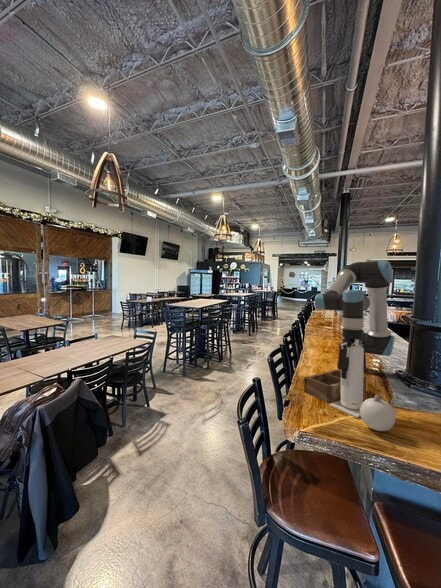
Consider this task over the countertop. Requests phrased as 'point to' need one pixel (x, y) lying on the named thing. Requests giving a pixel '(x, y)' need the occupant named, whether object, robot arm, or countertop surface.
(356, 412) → the coaster
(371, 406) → the ornament
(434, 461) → the countertop surface
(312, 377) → the carrier
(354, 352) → the bottle
